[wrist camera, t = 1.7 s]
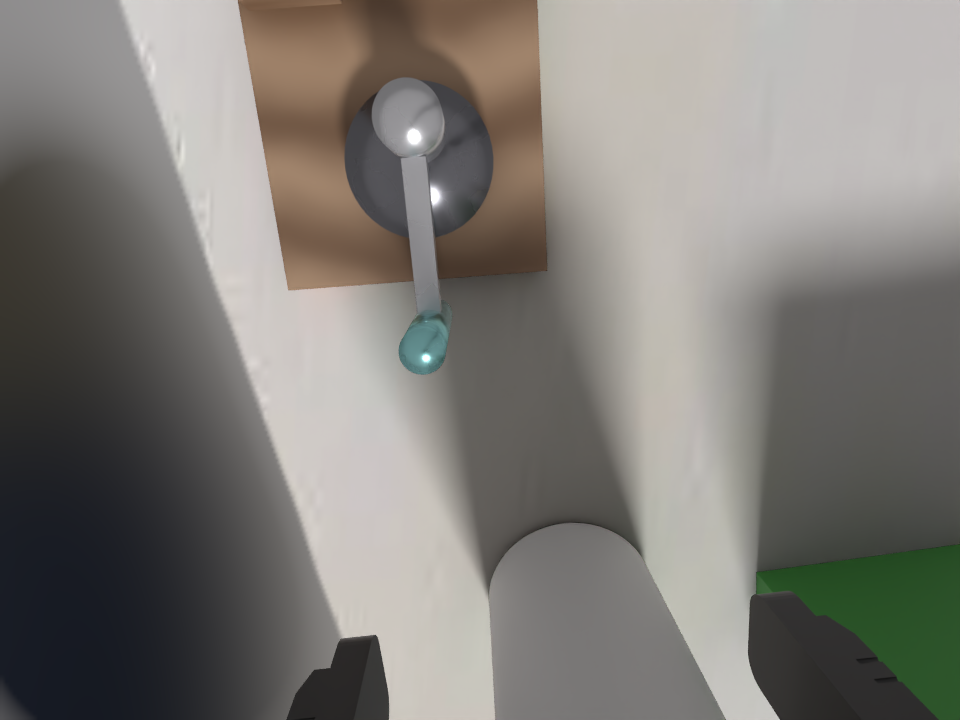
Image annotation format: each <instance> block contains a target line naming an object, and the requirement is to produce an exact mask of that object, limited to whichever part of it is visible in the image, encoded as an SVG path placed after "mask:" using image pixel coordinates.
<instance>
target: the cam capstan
mask: <svg viewBox="0 0 960 720" xmlns="http://www.w3.org/2000/svg"><path fill="white" fill-rule="evenodd" d="M344 160H345V170H346V175H347V179H348V183H349V186H350V188H351V191H352V193H353V195H354V197H355V199H356V200H357V202H358V204H359V205H360V207H361V208H362V209H363V210H364V212H365V213H366V214H367V215H368V216H369V217H370V218H371V219H372V220H373V221H374V222H376V223H377V224H378V225H380V226H381V227H383V228H384V229H386V230H388V231H390V232H392V233H394V234H397V235H400V236H403V237H407V238H409V240H410V249H411V258H412V267H413V277H414V286H415V295H416V305H417V315H416V316H415V318H414V320H413V322H412V323H411V325H410V327H409V328H408V330H407V332H406V334H405V335H404V337H403V339H402V341H401V343H400V345H399V357H400V360H401V362H402V364H403V365H404V366H405V367H406V368H407V369H408V370H409V371H411V372H413V373H416V374H429V373H432V372H434V371H436V370H437V369H438V368H439V367H440V366H441V365H442V363H443V361H444V359H445V354H446V349H447V343H448V338H449V332H450V327H451V321H452V310H451V308H450V306H449V305H448V304H447V303H446V302H445V301H443V300H441V294H440V284H439V273H438V263H437V252H436V241H435V238H436V237H440V236H443V235H446V234H448V233H451V232H453V231H455V230H457V229H458V228H460V227H461V226H463V225H464V224H465V223H467V222H468V221H469V220H470V219H471V218H472V217H473V216H474V215H475V214H476V212H477V211H478V209H479V208H480V207H481V205H482V203H483V201H484V200H485V198H486V196H487V193H488V191H489V188H490V184H491V180H492V175H493V149H492V144H491V140H490V136H489V133H488V131H487V128H486V126H485V124H484V122H483V120H482V118H481V117H480V115H479V114H478V112H477V111H476V110H475V108H474V107H473V106H472V105H471V104H470V103H469V102H468V101H467V100H466V99H465V98H464V97H462V96H461V95H460V94H459V93H457V92H455V91H454V90H452V89H451V88H448V87H446V86H444V85H442V84H439V83H435V82H432V81H425V80H417V79H414V78H408V77H403V78H397V79H394V80H392V81H390V82H388V83H387V84H386V85H384V86H383V87H382V88H381V89H380V91H378V92H377V93H375V94H374V95H373V96H371V97H370V98H369V99H368V100H367V101H366V102H365V103H364V104H363V106H362V107H361V108H360V109H359V111H358V112H357V114H356V115H355V117H354V119H353V121H352V123H351V125H350V128H349V131H348V134H347V138H346V144H345V155H344Z"/></svg>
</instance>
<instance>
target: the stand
mask: <svg viewBox="0 0 960 720" xmlns="http://www.w3.org/2000/svg"><path fill="white" fill-rule="evenodd" d="M238 5H239V10H240V16H241V22H242V27H243V33H244V39H245V45H246V50H247V56H248V62H249V68H250V73H251V79H252V85H253V90H254V96H255V102H256V108H257V113H258V119H259V125H260V131H261V136H262V142H263V148H264V153H265V159H266V165H267V171H268V176H269V182H270V188H271V193H272V199H273V205H274V211H275V216H276V222H277V228H278V234H279V239H280V245H281V251H282V256H283V262H284V268H285V274H286V279H287V285H288V290H300V289H313V288H326V287H339V286H353V285H366V284H379V283H392V282H405V281H414V277H413V267H412V258H411V249H410V240H409V238H407V237H403V236H400V235H397V234H394V233H392V232H390V231H388V230H386V229H384V228H383V227H381V226H380V225H378V224H377V223H376V222H374V221H373V220H372V219H371V218H370V217H369V216H368V215H367V214H366V213H365V212H364V210H363V209H362V208H361V207H360V205H359V204H358V202H357V200H356V199H355V197H354V195H353V193H352V191H351V188H350V186H349V183H348V179H347V175H346V170H345V160H344V155H345V144H346V138H347V134H348V131H349V128H350V125H351V123H352V121H353V119H354V117H355V115H356V114H357V112H358V111H359V109H360V108H361V107H362V106H363V104H364V103H365V102H366V101H367V100H368V99H369V98H370V97H371V96H373V95H374V94H375V93H377V92H378V91H380V89H381V88H382V87H383V86H384V85H386V84H387V83H388V82H390V81H392V80H394V79H397V78H403V77H408V78H414V79H417V80H425V81H432V82H435V83H439V84H442V85H444V86H446V87H448V88H451V89H452V90H454V91H455V92H457V93H459V94H460V95H461V96H462V97H464V98H465V99H466V100H467V101H468V102H469V103H470V104H471V105H472V106H473V107H474V108H475V110H476V111H477V112H478V114H479V115H480V117H481V118H482V120H483V122H484V124H485V126H486V128H487V131H488V133H489V136H490V140H491V144H492V149H493V175H492V180H491V184H490V188H489V191H488V193H487V196H486V198H485V200H484V201H483V203H482V205H481V207H480V208H479V209H478V211H477V212H476V214H475V215H474V216H473V217H472V218H471V219H470V220H469V221H468V222H467V223H465V224H464V225H463V226H461V227H460V228H458V229H457V230H455V231H453V232H451V233H448V234H446V235H443V236H440V237H436V238H435V241H436V252H437V263H438V273H439V279H445V278H458V277H471V276H485V275H498V274H511V273H524V272H537V271H547V252H546V225H545V198H544V171H543V144H542V117H541V90H540V63H539V36H538V9H537V0H238Z"/></svg>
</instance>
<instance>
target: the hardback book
mask: <svg viewBox="0 0 960 720" xmlns="http://www.w3.org/2000/svg"><path fill="white" fill-rule="evenodd" d="M783 591H791V592H793V593H795V594H796V595H797V596H798V597H799V598H800V599H801V600H802V601H803V602H804V603H805V605H806V606H807V607H808V608H809V609H810V610H811V611H812V612H813V613H814V614H815V615H816V616H821V615H827V616H828V617H830V618H831V619H833V620H834V621H836V622H838V623H839V624H841V625H842V626H844V627H845V628H847V629H849V630H850V631H852V632H853V633H855V634H856V635H857V636H858V637H859V638H860V639H861V640H862V641H863V642H864V643H865V644H866V645H867V646H868V647H869V648H870V650H871V651H872V652H873V653H874V654H875V655H876V656H877V657H878V660H879V661H880V662H883V663H884V664H885V665H886V666H887V667H888V668H889V669H890V670H891V671H892V672H893V673H894V674H895V675H896V676H897V679H898V681H899V682H903V683H904V684H905V685H906V687H907V688H908V689H909V690H910V691H911V692H912V693H913V694H914V695H915V696H916V697H917V698H918V699H919V700H920V701H921V702H922V703H923V704H924V705H925V706H926V707H927V708H928V709H929V710H930V711H931V712H932V713H933V714H934V715H935V716H936V717H937V718H938V719H939V720H960V544H958V545H951V546H943V547H936V548H929V549H922V550H915V551H907V552H900V553H893V554H886V555H878V556H871V557H864V558H857V559H849V560H842V561H835V562H828V563H820V564H813V565H806V566H799V567H792V568H784V569H777V570H770V571H763V572H756V594H765V593H774V592H783Z"/></svg>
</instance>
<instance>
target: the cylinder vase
mask: <svg viewBox="0 0 960 720" xmlns="http://www.w3.org/2000/svg"><path fill="white" fill-rule="evenodd" d="M489 608H490V628H491V647H492V666H493V685H494V704H495V720H726V719H725V717H724V715H723V713H722V711H721V709H720V707H719V705H718V703H717V701H716V699H715V697H714V696H713V694H712V692H711V690H710V688H709V686H708V684H707V682H706V680H705V678H704V676H703V674H702V672H701V670H700V668H699V667H698V665H697V663H696V661H695V659H694V657H693V655H692V653H691V651H690V649H689V647H688V645H687V643H686V641H685V640H684V638H683V636H682V634H681V632H680V630H679V628H678V626H677V624H676V622H675V620H674V618H673V616H672V614H671V612H670V611H669V609H668V607H667V605H666V603H665V601H664V599H663V597H662V595H661V593H660V591H659V589H658V587H657V585H656V583H655V582H654V580H653V578H652V576H651V574H650V572H649V570H648V568H647V566H646V564H645V562H644V560H643V559H642V557H641V556H640V554H639V553H638V552H637V550H636V549H635V548H634V547H633V546H632V545H631V544H630V543H629V542H628V541H626V540H625V539H624V538H622V537H621V536H619V535H618V534H616V533H614V532H612V531H610V530H608V529H605V528H602V527H599V526H596V525H591V524H585V523H563V524H556V525H552V526H548V527H545V528H542V529H539V530H537V531H535V532H533V533H531V534H529V535H527V536H525V537H524V538H522V539H521V540H519V541H518V542H517V543H516V544H514V545H513V546H512V547H511V548H510V549H509V550H508V551H507V552H506V554H505V555H504V556H503V557H502V559H501V560H500V562H499V564H498V565H497V567H496V569H495V571H494V574H493V577H492V580H491V584H490V590H489Z"/></svg>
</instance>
